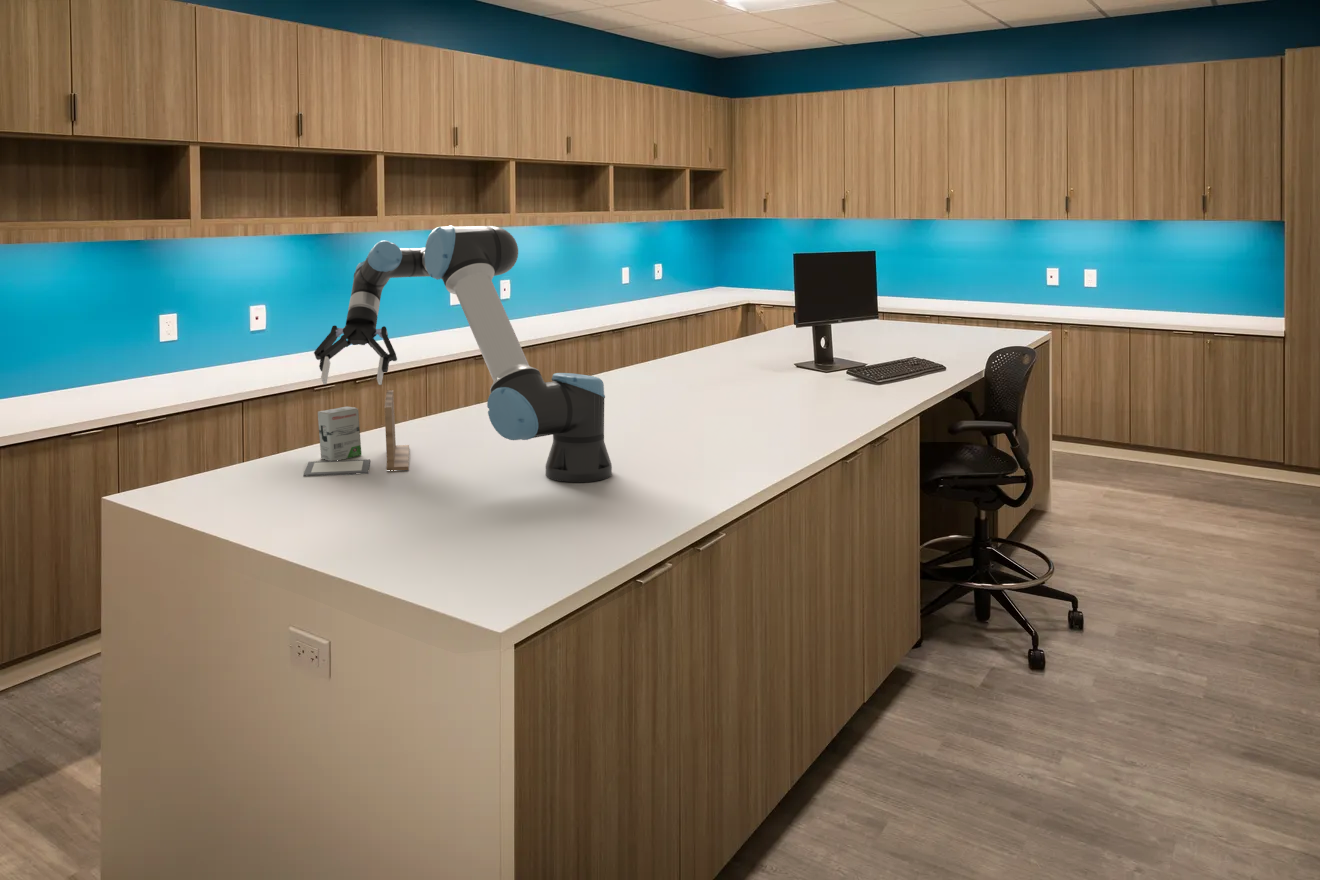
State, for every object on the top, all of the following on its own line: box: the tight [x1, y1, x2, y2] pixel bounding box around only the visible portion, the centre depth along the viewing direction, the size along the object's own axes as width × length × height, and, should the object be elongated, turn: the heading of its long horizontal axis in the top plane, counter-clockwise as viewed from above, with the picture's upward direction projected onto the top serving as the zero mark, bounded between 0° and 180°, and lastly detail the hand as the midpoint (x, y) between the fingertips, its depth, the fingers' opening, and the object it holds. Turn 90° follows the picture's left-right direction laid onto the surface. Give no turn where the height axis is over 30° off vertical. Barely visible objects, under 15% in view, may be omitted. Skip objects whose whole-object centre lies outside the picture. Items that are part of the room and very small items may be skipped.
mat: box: [303, 458, 371, 477], centre depth 241 cm, size 12×14×1 cm
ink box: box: [317, 406, 362, 461], centre depth 250 cm, size 9×5×12 cm, turn 141°
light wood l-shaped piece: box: [383, 389, 410, 472], centre depth 248 cm, size 22×5×15 cm, turn 13°
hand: (351, 381), depth 258 cm, fingers open, 13 cm apart
